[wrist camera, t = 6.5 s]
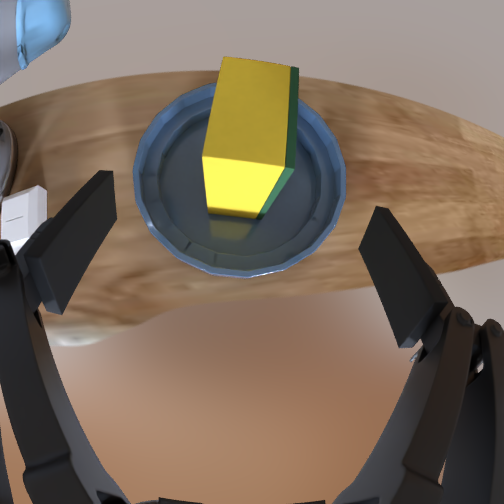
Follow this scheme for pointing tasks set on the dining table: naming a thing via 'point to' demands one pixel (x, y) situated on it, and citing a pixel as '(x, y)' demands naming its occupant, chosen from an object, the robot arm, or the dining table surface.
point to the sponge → (250, 137)
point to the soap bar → (23, 215)
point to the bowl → (230, 227)
